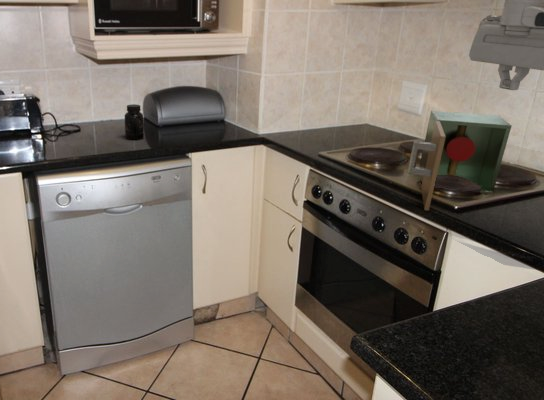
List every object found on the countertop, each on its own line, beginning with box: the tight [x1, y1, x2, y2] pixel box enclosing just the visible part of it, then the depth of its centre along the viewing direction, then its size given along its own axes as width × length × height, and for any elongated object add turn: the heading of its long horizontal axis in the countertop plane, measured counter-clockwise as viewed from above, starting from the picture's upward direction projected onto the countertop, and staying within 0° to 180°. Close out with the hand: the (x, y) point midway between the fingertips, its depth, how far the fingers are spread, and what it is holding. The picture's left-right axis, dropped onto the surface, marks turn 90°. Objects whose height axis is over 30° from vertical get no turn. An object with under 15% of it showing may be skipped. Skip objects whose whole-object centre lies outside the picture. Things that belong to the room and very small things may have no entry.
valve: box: [446, 125, 475, 175], centre depth 134 cm, size 7×5×15 cm
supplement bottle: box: [124, 104, 145, 141], centre depth 174 cm, size 7×7×12 cm
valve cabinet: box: [418, 110, 512, 195], centre depth 131 cm, size 12×17×19 cm
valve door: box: [406, 121, 446, 212], centre depth 122 cm, size 6×17×19 cm, turn 158°
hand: (508, 89), depth 97 cm, fingers closed
